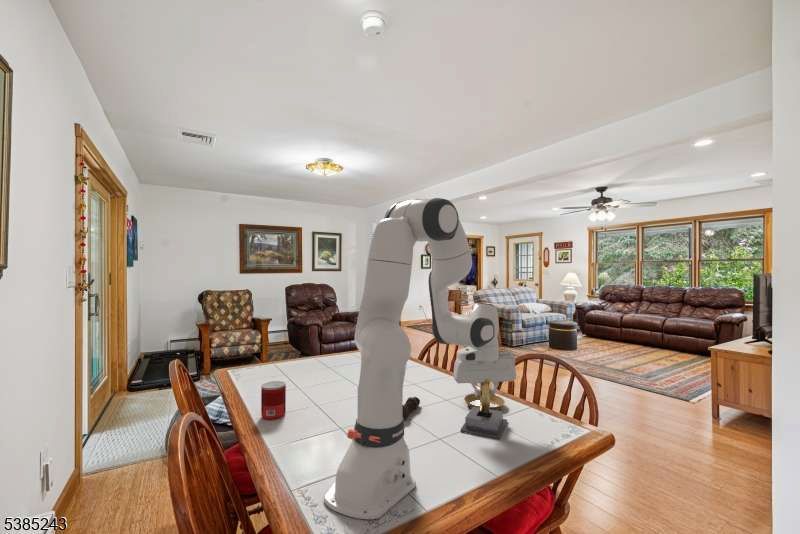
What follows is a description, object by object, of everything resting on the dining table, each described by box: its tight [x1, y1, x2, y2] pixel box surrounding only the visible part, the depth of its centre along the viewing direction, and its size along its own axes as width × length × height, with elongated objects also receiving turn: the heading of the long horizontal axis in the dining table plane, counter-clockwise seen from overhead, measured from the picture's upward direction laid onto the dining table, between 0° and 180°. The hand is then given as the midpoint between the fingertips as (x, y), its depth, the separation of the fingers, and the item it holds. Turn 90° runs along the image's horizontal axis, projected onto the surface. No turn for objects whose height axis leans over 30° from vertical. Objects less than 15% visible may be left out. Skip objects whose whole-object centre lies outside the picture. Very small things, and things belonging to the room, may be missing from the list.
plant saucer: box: [463, 392, 506, 411], centre depth 137 cm, size 15×15×3 cm
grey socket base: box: [460, 407, 508, 441], centre depth 119 cm, size 14×12×4 cm
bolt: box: [402, 396, 421, 422], centre depth 130 cm, size 6×5×15 cm
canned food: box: [260, 380, 287, 421], centre depth 127 cm, size 8×8×11 cm
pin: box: [479, 379, 491, 413], centre depth 119 cm, size 4×4×11 cm
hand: (484, 395), depth 119 cm, fingers closed on pin, 3 cm apart
